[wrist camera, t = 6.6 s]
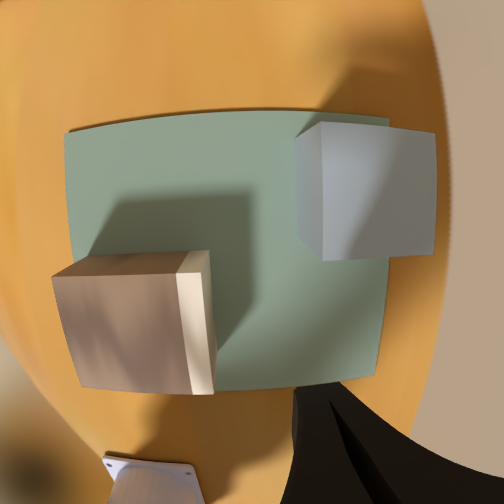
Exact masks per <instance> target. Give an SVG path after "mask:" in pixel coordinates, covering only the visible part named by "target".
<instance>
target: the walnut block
mask: <svg viewBox="0 0 504 504" xmlns="http://www.w3.org/2000/svg"><path fill="white" fill-rule="evenodd" d="M51 278H52V284H53V288H54V293H55V298H56V302H57V306H58V311H59V315H60V319H61V323H62V326H63V330H64V334H65V337H66V341H67V344H68V347H69V351H70V354H71V357H72V360H73V363H74V366H75V369H76V372H77V375H78V378H79V381H80V384H81V386H82V387H85V388H94V389H102V390H112V391H124V392H137V393H155V394H193V395H203V394H214V387H215V375H216V364H217V353H218V351H217V341H216V330H215V319H214V307H213V295H212V282H211V269H210V254H209V250H197V251H175V252H154V253H133V254H113V255H93V256H86V257H84V258H83V259H81V260H79V261H77V262H76V263H74V264H72V265H70V266H69V267H67V268H65V269H64V270H62V271H60V272H58V273H57V274H55V275H53V276H52V277H51Z"/></svg>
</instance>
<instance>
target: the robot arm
mask: <svg viewBox="0 0 504 504" xmlns="http://www.w3.org/2000/svg"><path fill="white" fill-rule="evenodd" d="M292 438H293V450H294V455H293V460H292V465H291V469H290V473H289V477H288V481H287V484H286V487H285V491H284V494H283V497H282V500H281V502H280V504H504V478H501V477H497V476H492V475H489V474H485V473H482V472H478V471H475V470H473V469H470V468H467V467H465V466H462V465H459V464H457V463H454V462H452V461H450V460H448V459H445V458H443V457H441V456H439V455H437V454H435V453H434V452H432V451H430V450H428V449H426V448H424V447H422V446H421V445H419V444H417V443H416V442H414V441H413V440H411V439H410V438H408V437H407V436H405V435H404V434H402V433H401V432H399V431H398V430H396V429H395V428H394V427H392V426H391V425H390V424H388V423H387V422H386V421H384V420H383V419H382V418H381V417H379V416H378V415H377V414H376V413H374V412H373V411H372V410H371V409H370V408H368V407H367V406H366V405H365V404H364V403H363V402H361V401H360V400H359V399H358V398H357V397H356V396H355V395H354V394H352V393H351V392H350V391H349V390H348V389H347V388H346V387H345V386H343V385H342V384H341V383H340V382H333V383H326V384H319V385H311V386H302V387H297V388H296V389H295V390H294V396H293V418H292ZM102 461H103V463H104V464H105V466H106V468H107V470H108V472H109V473H110V475H111V477H112V478H113V480H114V486H113V489H112V492H111V495H110V498H109V501H108V504H205V502H204V499H203V496H202V493H201V489H200V486H199V483H198V479H197V476H196V473H195V469H194V467H193V466H192V465H190V464H177V463H163V462H152V461H142V460H134V459H126V458H119V457H113V456H107V455H105V456H103V458H102Z"/></svg>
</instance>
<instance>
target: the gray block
mask: <svg viewBox="0 0 504 504" xmlns="http://www.w3.org/2000/svg"><path fill="white" fill-rule="evenodd" d="M294 145H295V174H296V225H297V237H298V238H299V239H300V240H301V241H302V242H303V243H304V244H305V245H306V246H307V247H308V248H309V249H310V250H311V251H312V252H313V253H315V254H316V255H317V256H318V257H319V258H320V259H321V260H322V261H334V260H352V259H369V258H386V257H403V256H419V255H434V244H435V230H436V209H437V157H436V137H435V133H429V132H423V131H416V130H409V129H401V128H393V127H385V126H375V125H365V124H353V123H338V122H319V123H317V124H316V125H314V126H313V127H311V128H310V129H308V130H307V131H305V132H304V133H303V134H301V135H300V136H298V137H297V138H295V139H294Z"/></svg>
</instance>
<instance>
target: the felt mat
mask: <svg viewBox="0 0 504 504" xmlns="http://www.w3.org/2000/svg"><path fill="white" fill-rule="evenodd" d="M319 122H338V123H353V124H365V125H375V126H385V127H390V120H389V118H385V117H376V116H367V115H356V114H344V113H330V112H310V111H234V112H214V113H199V114H187V115H177V116H167V117H159V118H151V119H143V120H136V121H129V122H123V123H117V124H111V125H105V126H100V127H95V128H90V129H85V130H80V131H75V132H71V133H66V134H65V181H66V198H67V210H68V220H69V230H70V238H71V246H72V253H73V259H74V263H76V262H77V261H79V260H81V259H83V258H84V257H86V256H93V255H113V254H133V253H154V252H175V251H197V250H209V254H210V269H211V282H212V295H213V307H214V319H215V330H216V341H217V351H218V353H217V364H216V375H215V387H214V391H243V390H261V389H275V388H286V387H297V386H306V385H315V384H323V383H330V382H337V381H344V380H350V379H357V378H362V377H368V376H374V373H375V368H376V362H377V357H378V351H379V345H380V338H381V332H382V325H383V318H384V310H385V301H386V293H387V283H388V272H389V259H390V257H386V258H369V259H352V260H334V261H322V260H321V259H320V258H319V257H318V256H317V255H316V254H315V253H313V252H312V251H311V250H310V249H309V248H308V247H307V246H306V245H305V244H304V243H303V242H302V241H301V240H300V239H299V238H298V237H297V225H296V174H295V145H294V139H295V138H297V137H298V136H300V135H301V134H303V133H304V132H305V131H307V130H308V129H310V128H311V127H313V126H314V125H316V124H317V123H319Z"/></svg>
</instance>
